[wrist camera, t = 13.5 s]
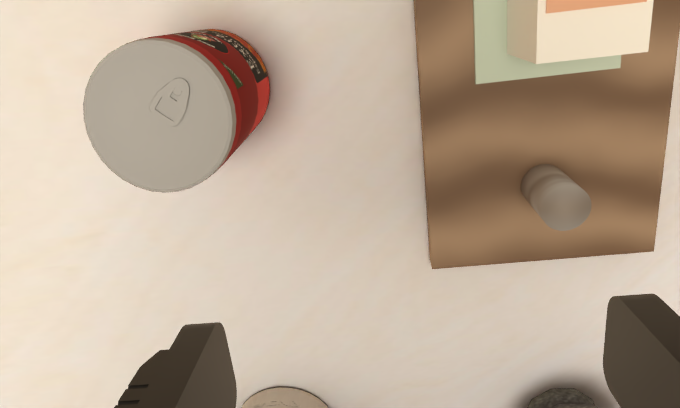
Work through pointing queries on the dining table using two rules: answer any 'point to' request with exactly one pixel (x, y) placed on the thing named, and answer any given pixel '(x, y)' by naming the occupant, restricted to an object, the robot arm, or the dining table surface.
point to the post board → (540, 148)
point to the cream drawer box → (577, 29)
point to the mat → (505, 67)
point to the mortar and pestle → (562, 399)
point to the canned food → (174, 106)
